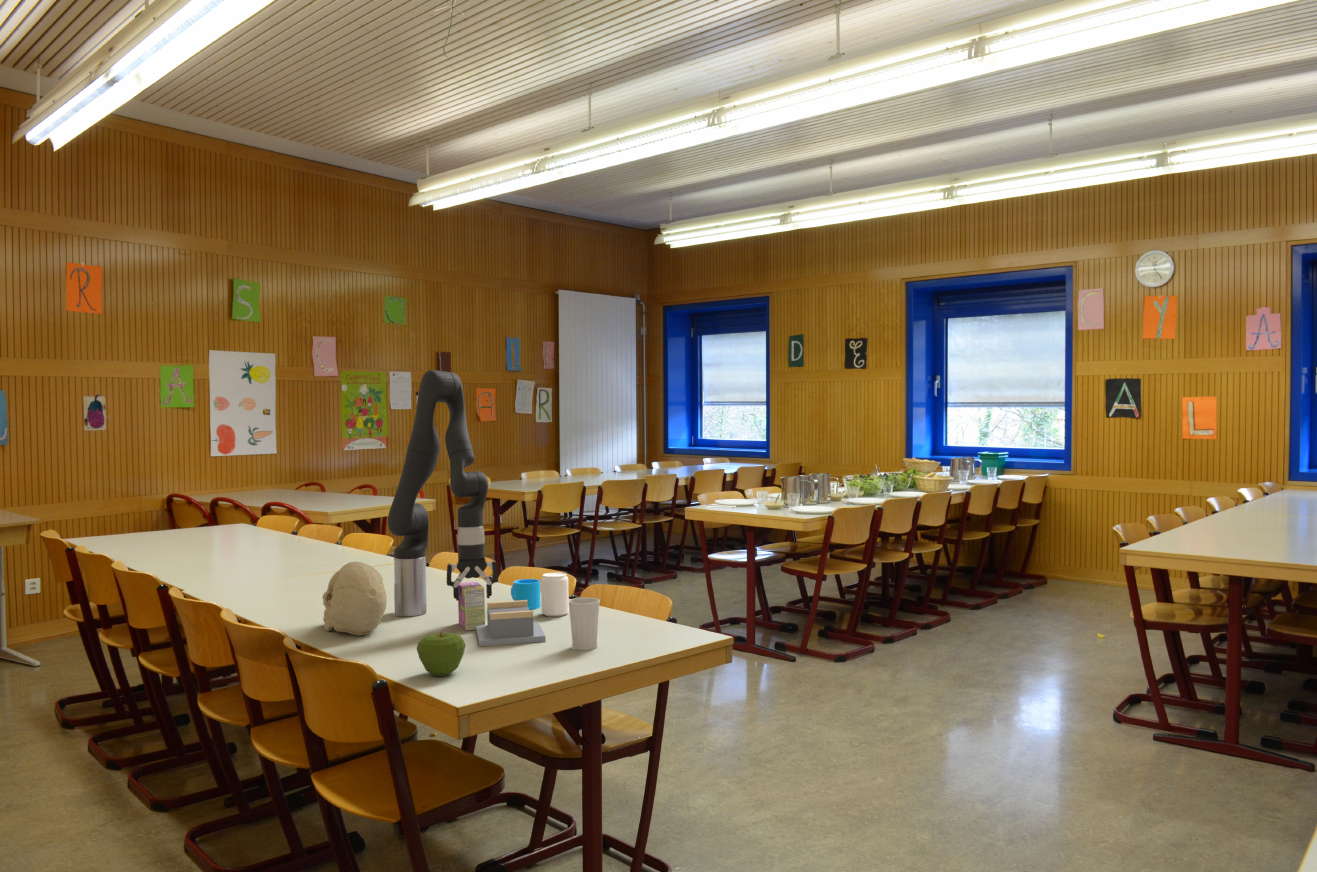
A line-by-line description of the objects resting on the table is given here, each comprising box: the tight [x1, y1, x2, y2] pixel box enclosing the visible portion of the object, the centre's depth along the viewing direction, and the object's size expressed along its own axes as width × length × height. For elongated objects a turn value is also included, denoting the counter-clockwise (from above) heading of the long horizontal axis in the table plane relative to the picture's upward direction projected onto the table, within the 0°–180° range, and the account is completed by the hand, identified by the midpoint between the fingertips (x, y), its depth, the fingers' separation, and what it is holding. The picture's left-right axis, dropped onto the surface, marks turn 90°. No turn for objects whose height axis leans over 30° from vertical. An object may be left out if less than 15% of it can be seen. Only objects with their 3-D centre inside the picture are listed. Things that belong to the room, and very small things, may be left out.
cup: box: [569, 597, 601, 651], centre depth 227 cm, size 8×8×12 cm
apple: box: [416, 631, 466, 677], centre depth 204 cm, size 11×10×10 cm
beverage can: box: [540, 571, 570, 617], centre depth 265 cm, size 8×8×12 cm
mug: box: [510, 578, 541, 611], centre depth 276 cm, size 12×8×8 cm
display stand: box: [475, 600, 547, 647], centre depth 239 cm, size 17×17×8 cm
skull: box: [322, 561, 388, 636], centre depth 247 cm, size 15×26×20 cm, turn 44°
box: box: [457, 581, 486, 632], centre depth 251 cm, size 10×6×12 cm, turn 23°
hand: (472, 598), depth 251 cm, fingers open, 8 cm apart
